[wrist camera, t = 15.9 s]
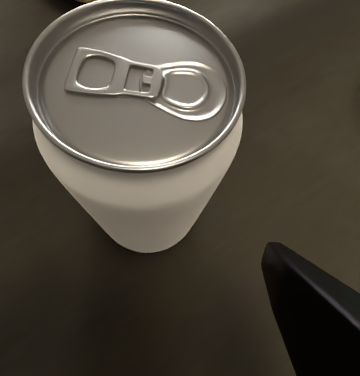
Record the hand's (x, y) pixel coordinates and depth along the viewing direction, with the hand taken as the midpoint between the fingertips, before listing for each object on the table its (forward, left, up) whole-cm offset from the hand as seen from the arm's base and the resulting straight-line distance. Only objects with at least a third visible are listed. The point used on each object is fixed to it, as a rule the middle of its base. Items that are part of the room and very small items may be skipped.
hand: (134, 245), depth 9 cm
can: (+3, +2, -9) cm, 9 cm away
